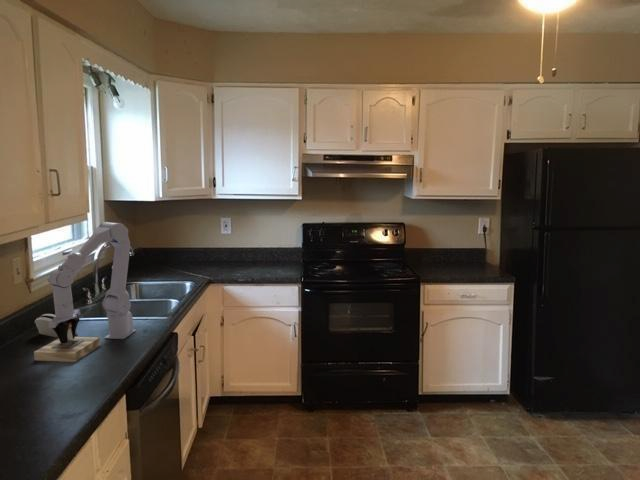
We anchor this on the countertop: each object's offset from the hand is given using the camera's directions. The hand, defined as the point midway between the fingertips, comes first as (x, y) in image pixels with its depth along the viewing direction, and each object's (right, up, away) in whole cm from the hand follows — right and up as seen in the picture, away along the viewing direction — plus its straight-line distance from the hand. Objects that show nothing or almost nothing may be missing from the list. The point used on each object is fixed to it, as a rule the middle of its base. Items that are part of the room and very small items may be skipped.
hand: (67, 340), depth 175 cm
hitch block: (0, -4, +1) cm, 4 cm away
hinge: (-14, -2, +19) cm, 23 cm away
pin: (0, -2, 0) cm, 2 cm away
